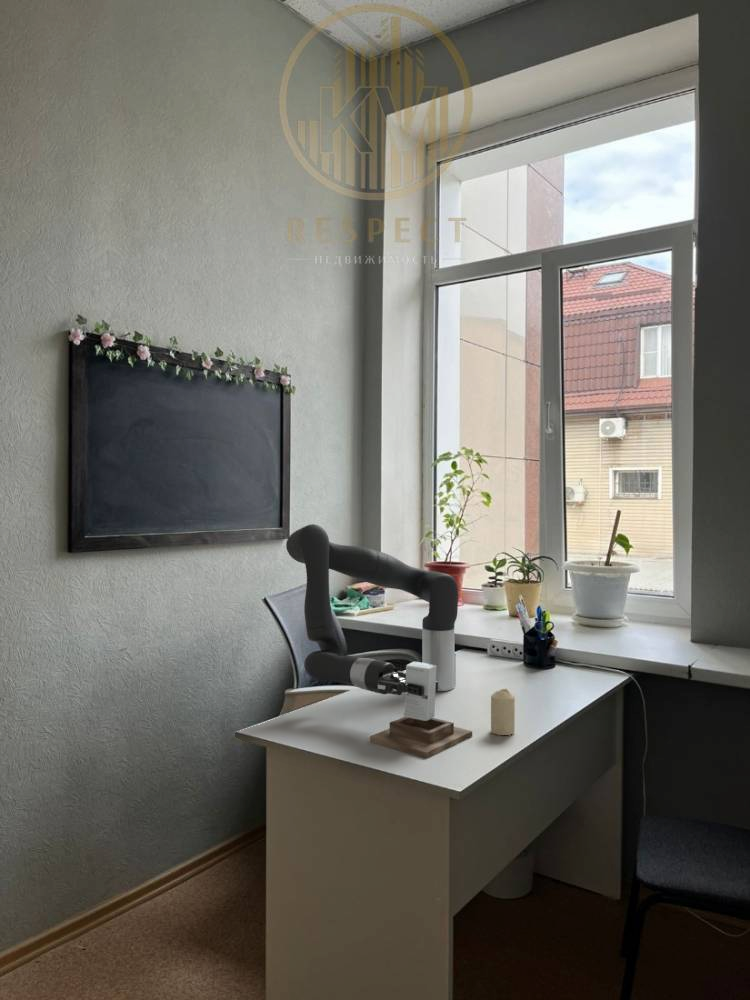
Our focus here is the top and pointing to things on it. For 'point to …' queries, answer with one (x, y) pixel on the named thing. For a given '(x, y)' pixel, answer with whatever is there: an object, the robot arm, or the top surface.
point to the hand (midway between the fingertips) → (430, 688)
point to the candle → (502, 712)
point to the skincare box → (424, 704)
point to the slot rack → (421, 736)
